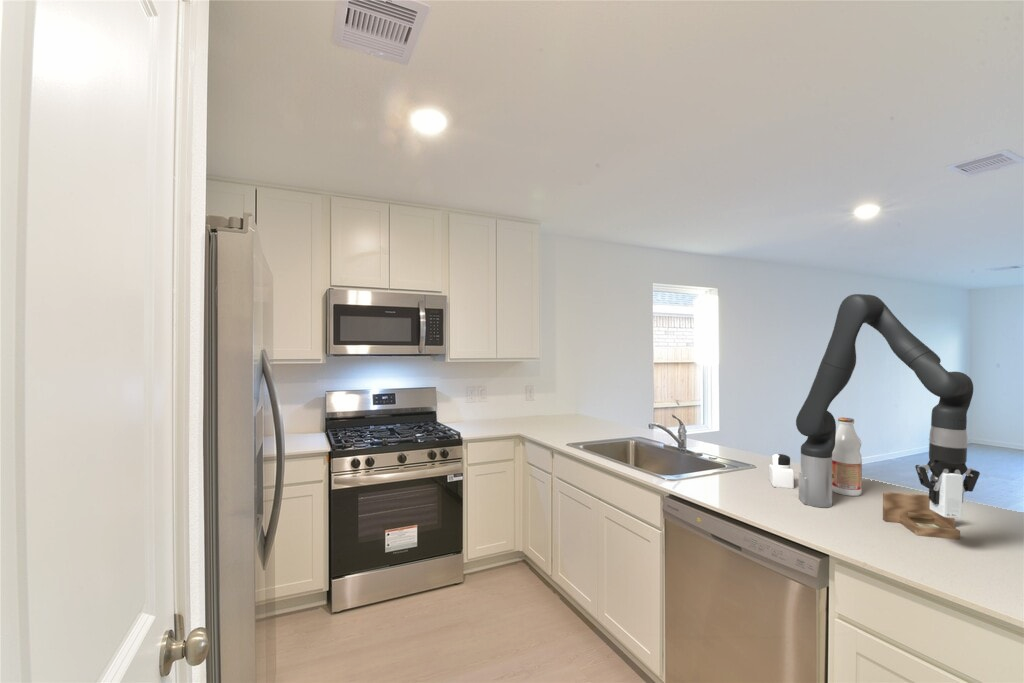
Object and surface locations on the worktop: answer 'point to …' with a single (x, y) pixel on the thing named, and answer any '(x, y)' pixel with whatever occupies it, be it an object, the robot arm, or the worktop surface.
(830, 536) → the worktop surface
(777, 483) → the medicine bottle
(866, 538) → the worktop surface
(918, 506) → the wooden frame stand
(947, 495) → the skincare box
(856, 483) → the fruit juice
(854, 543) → the worktop surface
